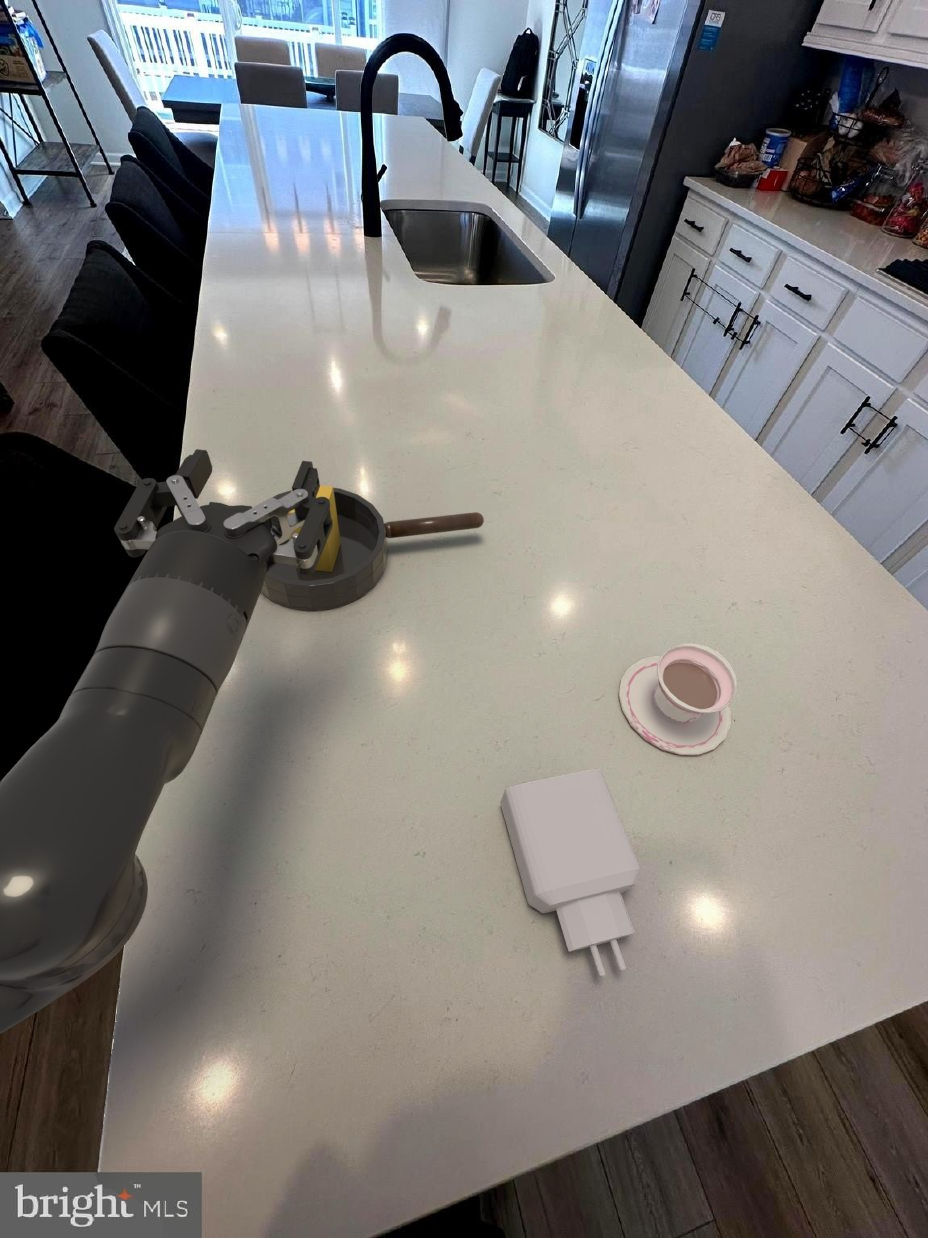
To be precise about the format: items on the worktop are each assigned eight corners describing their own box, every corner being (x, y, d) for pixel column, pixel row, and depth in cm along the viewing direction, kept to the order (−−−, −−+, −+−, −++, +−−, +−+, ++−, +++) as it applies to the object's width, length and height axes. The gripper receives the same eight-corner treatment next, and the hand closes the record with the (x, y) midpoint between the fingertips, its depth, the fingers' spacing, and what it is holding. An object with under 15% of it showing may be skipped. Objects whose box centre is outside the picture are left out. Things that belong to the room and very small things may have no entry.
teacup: (695, 780, 55) (722, 754, 50) (596, 703, 60) (613, 673, 55) (747, 705, 61) (777, 675, 56) (654, 640, 66) (674, 607, 61)
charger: (549, 992, 44) (498, 804, 52) (656, 961, 45) (590, 785, 54) (563, 987, 40) (505, 786, 48) (678, 954, 42) (603, 766, 50)
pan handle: (383, 542, 68) (382, 530, 67) (380, 531, 70) (379, 519, 68) (484, 530, 71) (486, 518, 70) (480, 519, 72) (482, 508, 71)
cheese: (332, 572, 67) (323, 516, 60) (295, 568, 67) (282, 511, 60) (340, 543, 70) (333, 486, 63) (306, 539, 70) (294, 482, 63)
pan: (250, 620, 63) (241, 594, 59) (247, 520, 72) (239, 493, 69) (396, 600, 66) (396, 574, 63) (375, 507, 76) (374, 480, 72)
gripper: (98, 641, 39) (185, 490, 49) (302, 662, 39) (347, 507, 49) (43, 568, 33) (154, 413, 43) (284, 593, 33) (339, 434, 43)
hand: (257, 463), depth 46 cm, fingers open, 8 cm apart
